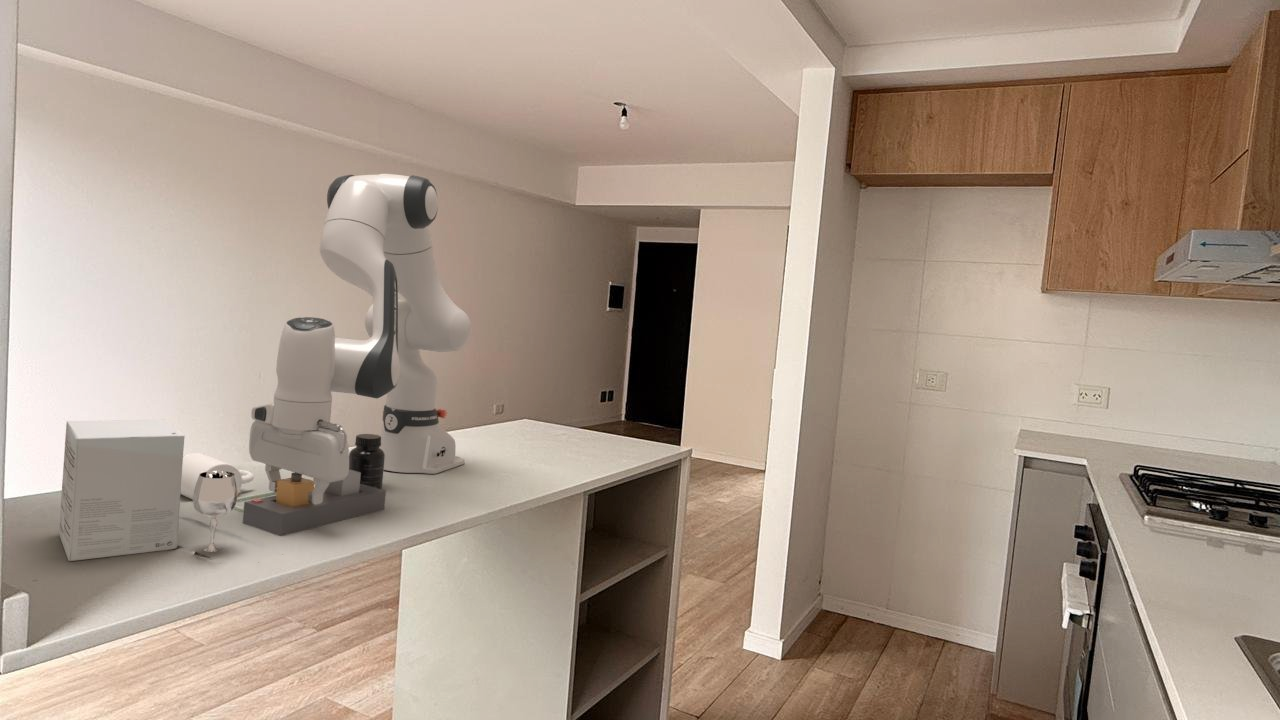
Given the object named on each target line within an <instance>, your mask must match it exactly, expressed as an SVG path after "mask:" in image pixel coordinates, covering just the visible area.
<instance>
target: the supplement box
mask: <svg viewBox="0 0 1280 720" xmlns="http://www.w3.org/2000/svg"><path fill="white" fill-rule="evenodd" d="M185 438H186V437H185V435H184V434H183V433H182V432H181V431H179V429H177V428H176V427H175V426H174V425H173V424H171V423H170V422H169V421H168V420H166V419H165V418H164V419H163V418H161V419H127V420H126V419H123V420H122V419H120V420H119V419H117V420H116V419H115V420H66V424H65V440H64V441H65V442H64V455H63V468H62V469H63V470H62V480H61V481H62V485H61V495H60V496H61V499H60V512H59V529H58V530H59V531H58V532H59V533H58V535H59V538H60V541H61V544H62V547H63V550H64V552H65V554H66V557H67V560H68V562H74V561H82V560H84V561H85V560H91V559H92V560H93V559H101V558H109V557H117V556H126V555H133V554H142V553H152V552H160V551H161V552H162V551H167V550H168V551H169V550H174V549H177V548H178V538H179V526H180V525H179V522H180V521H179V520H180V507H181V479H182V463H183V456H184V448H185V447H184V446H185Z"/></svg>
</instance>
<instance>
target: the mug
mask: <svg viewBox="0 0 1280 720" xmlns="http://www.w3.org/2000/svg"><path fill="white" fill-rule="evenodd" d="M208 471H227V472H232V473H234V474H235V478H236V483H237V496H238V495H239V493H240V492H241V489H242V485H243V484H248V483H250V482H253V481H254V479H255V477H254V476H255V475H254V474H253V473H252V472H251V471H249V470H247V469H246V470H244V469H238V468H237V467H236V466H234V465H233V464H230V463H228V462H225V461H223V460H221V459H217V458H215V457H212V456H210V455H207V454H205V453H202V452H191V453H187V454H186V455H183V463H182V479H181V494H180V496H184V497H185V498H188V499H190V500H192V501H193V493H194V489H195V485H196V483H197V480H198V477H199V474H200V473H203V472H208Z"/></svg>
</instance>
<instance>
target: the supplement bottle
mask: <svg viewBox="0 0 1280 720" xmlns="http://www.w3.org/2000/svg"><path fill="white" fill-rule="evenodd" d="M354 445H355V446H356V447H353V448H352V449H351V450H349V469H350V470H353V471H357V472H361V477H360V484H364V485H367V486H371V487H374V488H378V489H381V490H383V480H384V471H385V470H384V460H385V454H384V452H383V450H381V449H380V448H379V447H380V446H381V436H380V435H378V434H373V433H360V434H356V436H355V442H354Z"/></svg>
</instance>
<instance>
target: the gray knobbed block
mask: <svg viewBox="0 0 1280 720" xmlns="http://www.w3.org/2000/svg"><path fill="white" fill-rule="evenodd" d="M360 477H361V472H357V471H353V470H350V469H349V473H348V475H347V477H346V478H345V479H344V480H340V481H335V482H330V484H329V485H328V487H327V489H326V490H325V492H327V493H330V494H334V495H337V496H340V497H342V496H347V495H352V494H356V493H359V488H360Z"/></svg>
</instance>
